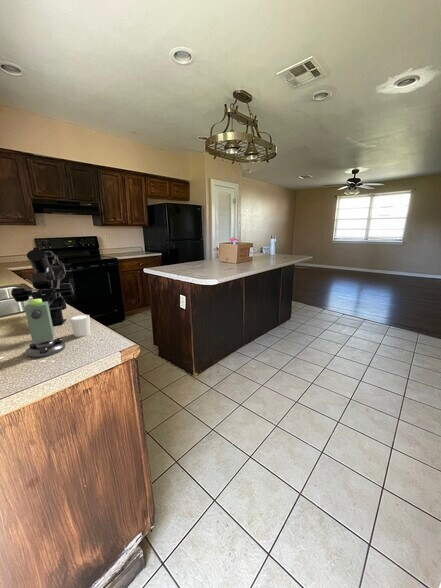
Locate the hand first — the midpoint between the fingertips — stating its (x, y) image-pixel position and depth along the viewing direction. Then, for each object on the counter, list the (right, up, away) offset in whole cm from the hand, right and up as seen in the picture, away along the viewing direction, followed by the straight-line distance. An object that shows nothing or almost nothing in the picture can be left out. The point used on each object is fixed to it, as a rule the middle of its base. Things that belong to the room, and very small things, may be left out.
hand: (45, 311), depth 91 cm
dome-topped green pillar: (+5, -10, -7) cm, 13 cm away
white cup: (+10, -10, +7) cm, 15 cm away
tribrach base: (+5, -13, -7) cm, 15 cm away
